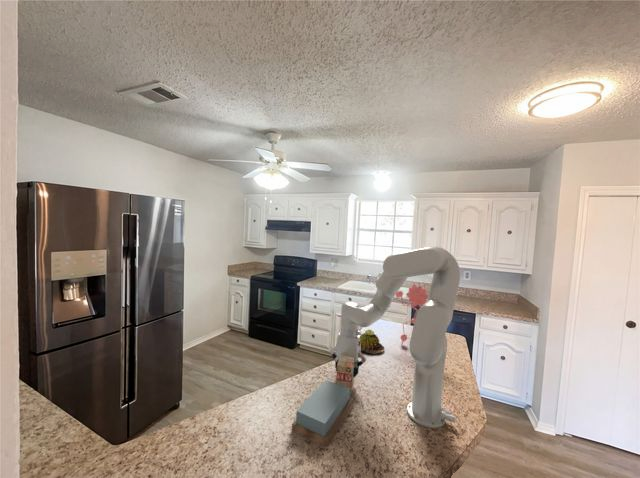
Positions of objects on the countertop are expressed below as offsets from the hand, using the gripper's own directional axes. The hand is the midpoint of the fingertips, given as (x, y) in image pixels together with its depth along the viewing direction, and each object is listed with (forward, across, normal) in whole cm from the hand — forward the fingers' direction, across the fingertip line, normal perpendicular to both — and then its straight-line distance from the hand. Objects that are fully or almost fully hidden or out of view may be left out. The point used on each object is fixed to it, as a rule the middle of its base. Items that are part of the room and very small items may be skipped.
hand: (346, 372), depth 113 cm
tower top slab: (+1, -2, +25) cm, 25 cm away
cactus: (+5, +1, -38) cm, 38 cm away
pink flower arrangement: (+4, -21, -55) cm, 59 cm away
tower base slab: (+5, -2, +25) cm, 26 cm away
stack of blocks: (+4, 0, 0) cm, 4 cm away
